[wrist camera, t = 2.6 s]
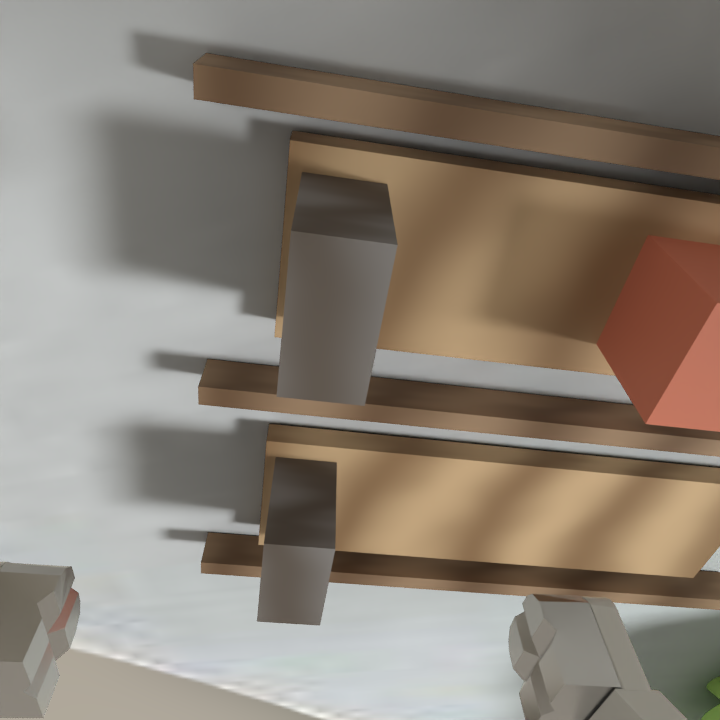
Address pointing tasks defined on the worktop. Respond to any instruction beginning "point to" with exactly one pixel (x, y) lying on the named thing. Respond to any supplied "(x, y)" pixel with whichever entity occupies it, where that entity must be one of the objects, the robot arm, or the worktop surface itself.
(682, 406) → the cube
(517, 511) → the strip
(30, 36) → the worktop surface
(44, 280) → the worktop surface
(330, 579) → the lane rails
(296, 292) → the strip
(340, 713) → the worktop surface
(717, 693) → the teapot
